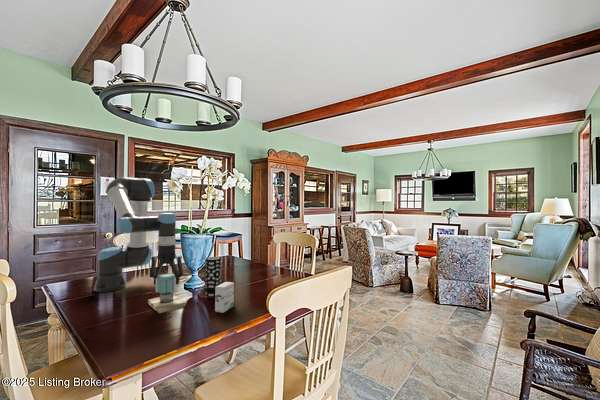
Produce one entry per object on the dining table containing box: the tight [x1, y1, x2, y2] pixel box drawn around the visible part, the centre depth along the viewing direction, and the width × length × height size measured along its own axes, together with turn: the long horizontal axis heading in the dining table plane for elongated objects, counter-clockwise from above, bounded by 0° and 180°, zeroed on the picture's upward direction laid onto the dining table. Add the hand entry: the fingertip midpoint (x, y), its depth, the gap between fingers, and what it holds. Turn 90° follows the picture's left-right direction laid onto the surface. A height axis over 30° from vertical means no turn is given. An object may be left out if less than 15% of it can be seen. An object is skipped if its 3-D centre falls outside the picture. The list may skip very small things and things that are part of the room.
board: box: [147, 293, 186, 314], centre depth 135 cm, size 16×12×2 cm
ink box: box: [214, 281, 235, 314], centre depth 131 cm, size 9×5×12 cm, turn 158°
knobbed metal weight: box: [159, 291, 174, 303], centre depth 135 cm, size 6×6×6 cm
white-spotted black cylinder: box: [204, 256, 222, 299], centre depth 149 cm, size 8×8×20 cm
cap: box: [156, 273, 175, 294], centre depth 135 cm, size 8×8×7 cm
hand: (166, 291), depth 135 cm, fingers closed on cap, 8 cm apart
